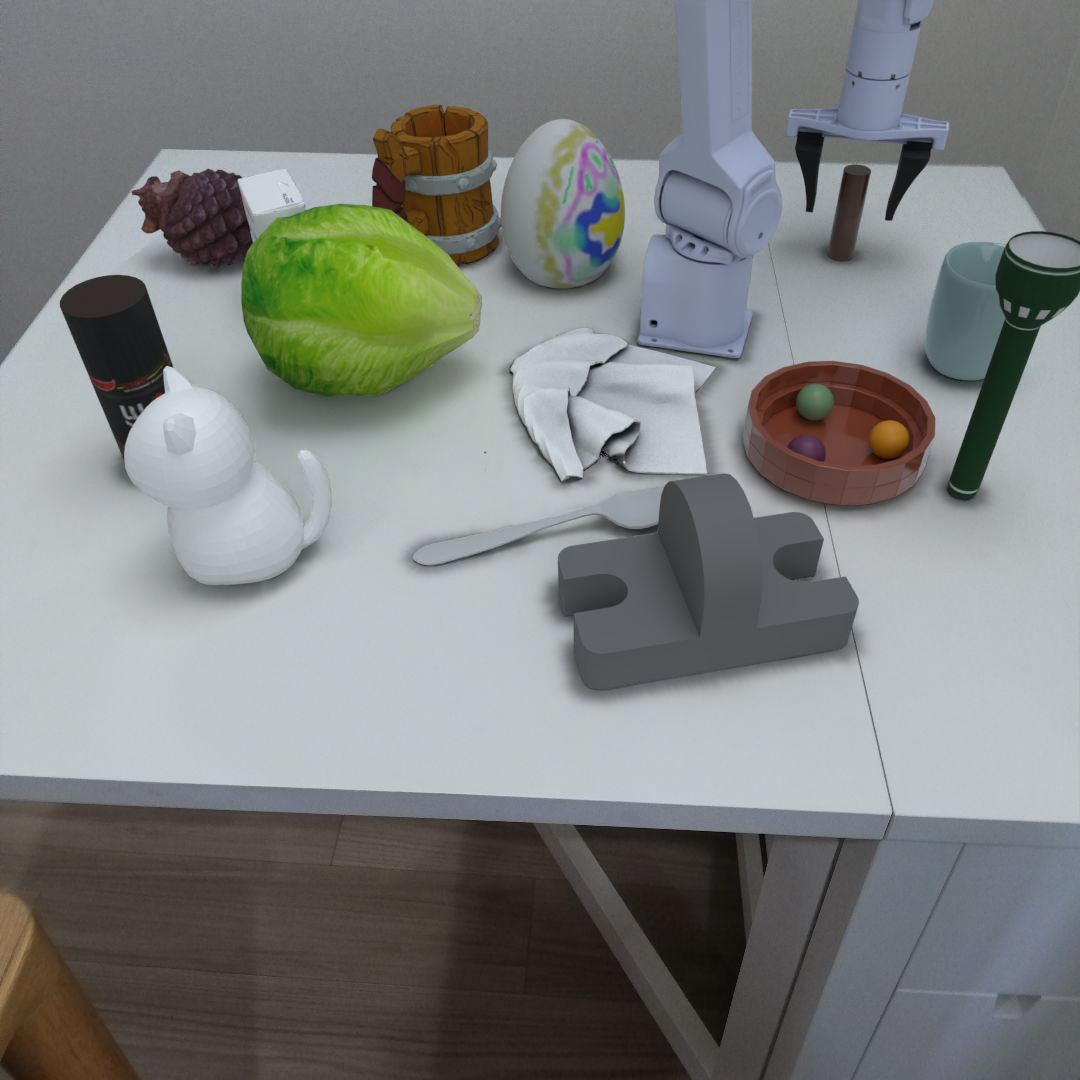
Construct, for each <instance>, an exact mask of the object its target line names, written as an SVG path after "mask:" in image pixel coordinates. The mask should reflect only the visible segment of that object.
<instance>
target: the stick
mask: <svg viewBox="0 0 1080 1080" xmlns="http://www.w3.org/2000/svg"><path fill="white" fill-rule="evenodd" d="M871 174H872V170H871V168H870V167H869V166H867V165H863V164H854V163H853V164H848V165H846V166H844V168H843V171H842V175H841V181H840V185H839V192H838V195H837V196H838V197H837V201H836V207H835V212H834V216H833V222H832V227H831V232H830V238H829V243H828V248H827V253H826V255H827V256H828V258H830V259H832V260H834V261H839V262H846V261H850V260H851V259H853V257H854V254H855V250H856V245H857V240H858V235H859V231H860V225H861V221H862V217H863V212H864V207H865V203H866V198H867V193H868V188H869V184H870V180H871Z"/></svg>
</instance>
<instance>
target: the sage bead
mask: <svg viewBox="0 0 1080 1080" xmlns="http://www.w3.org/2000/svg"><path fill="white" fill-rule="evenodd" d="M833 405H834V398H833V395H832V393H831V391H830V390H829V389H828V388H827V387H825V386H824V385H821V384H810V385H807V386H805V387H804V388H803V389H802V390H801V391H800V392H799V393H798V395H797V398H796V408H797V411H798V412H799V414H800V415H801V416H802V417H803V418H805V419H807V420H811V421H817V420H821V419H823V418H825V417H827V416H828V415H829V414H830V412H831V411H832V409H833Z"/></svg>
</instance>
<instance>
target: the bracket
mask: <svg viewBox="0 0 1080 1080" xmlns="http://www.w3.org/2000/svg"><path fill="white" fill-rule="evenodd" d="M663 487H664V489H663V491H662V494H661V501H660V509H659V521H658V524H657V532H653V533H646V534H639V535H633V536H625V537H620V538H613V539H607V540H601V541H593V542H587V543H580V544H575V545H568V546H566V547H564V548H563V549H561V550H560V552H559V553H558V556H557V578H558V579H557V581H558V582H557V583H558V599H559V602H560V606H561V610H562V614H563V617H567V616H573V653H574V656H575V660H576V663H577V667H578V670H579V671H578V672H579V674H580V677H581V678H580V679H581V681H582V683H584V685H586V686H587V687H588V688H590V689H593V690H596V691H604V690H610V689H617V688H621V687H627V686H632V685H639V684H644V683H651V682H657V681H662V680H667V679H668V680H669V679H675V678H679V677H686V676H691V675H697V674H704V673H709V672H715V671H721V670H727V669H732V668H739V667H744V666H751V665H756V664H762V663H768V662H774V661H779V660H785V659H791V658H796V657H802V656H809V655H815V654H821V653H827V652H831V651H838V650H840V649H841V650H842V649H843V648H844V647H845V646H847V644H848V642H849V638H850V635H851V632H852V628H853V625H854V621H855V619H856V616H857V612H858V608H859V605H860V599H859V596H858V595H857V593H856V591H855V589H854V588H853V585H851V582H850V581H849V579H848V578H847V576H845V575H844V576H840V577H834V578H828V579H821V580H815V581H806V582H803V581H795V580H799V579H803V578H810V577H815V576H816V573H817V569H818V565H819V561H820V557H821V554H822V549H823V544H824V541H825V538H824V536H823V535H822V532H821V531H820V529H819V528H818V526H817V525H816V523H815V521H814V519H813V518H812V517H811V516H810V515H808V514H805V513H803V512H799V511H790V512H789V511H788V512H783V513H776V514H771V515H764V516H756V517H754V514H753V510H752V507H751V505H750V502H749V499H748V498H747V495H746V493H745V490H744V489H743V487H742V486H741V484H740V483H739V482H738V480H737V478H736V477H734V476H732V475H731V474H730V473H724V472H723V473H717V474H710V475H703V476H697V477H689V478H682V479H676V480H669V481H668V482H666V484H664V485H663Z"/></svg>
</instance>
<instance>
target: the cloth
mask: <svg viewBox="0 0 1080 1080" xmlns="http://www.w3.org/2000/svg"><path fill="white" fill-rule="evenodd" d="M716 368H717V367H716V366H713V365H709V364H706V363H702V362H698V361H696V360H692V359H687V358H684V357H681V356H677V355H673V354H669V353H665V352H662V351H657V350H652V349H648V348H645V347H640V346H637V345H632V344H630V343H629V342H627V341H626V340H624V339H623V338H620V337H619V336H616V335H613V334H608V333H594V331H593V329H592V328H589V327H578V328H575V329H571V330H569V331H567V332H565V333H563V334H557V335H555V336H554V337H551V338H550V339H548V340H546V341H544V342H541V343H539V344H537V345H535V346H533V347H532V348H531V349H529V350H527V351H526V352H524V353H523V354H522V355H519V356H518V357H516V358H514V359H513V361H512V363H511V364H510V366H509V367H508V371H510V372H512V373H513V376H512V377H513V378H512V393H513V399H514V406H515V408H516V411H517V412H518V416H519V418H520V421H521V423H522V424H523V426H525V428H526V430H527V434H528V435H529V437H530V439H531V441H532V442H533V443H534V444H535V445H536V446H537V447H538V449H539V451H540V453H541V455H542V457H543V458H544V459H545V460H546V461H547V462H548V463H549V465H551V466H552V467H553V468H554V470H555V472H556V475H558V477H559V479H560V482H564V481H566V480H569V479H570V478H572V477H577V478H579V479H580V478H581V479H583V478H584V470H587V469H588V468H590V467H591V466H592V465H594V463H596V462H597V461H598V460H599V458H600V454H601V451H603V452H604V453H605V454H606V455H608V456H609V458H611V459H614V460H617V461H618V464H619V465H620V466H621V467H623V468H624V469H626V470H627V471H629V472H633V473H637V474H655V475H703V476H708V470H707V462H706V461H707V460H706V456H705V450H704V444H703V437H702V432H701V431H702V430H701V426H700V417H699V413H698V409H697V401H696V395H695V394H696V393H697V391H699V390H700V389H701V388H702V387H703V385H704V384H705V383H706V382H707V381H708V379H709V378H710V377H711V375H712V374H713V373H714V371H716Z"/></svg>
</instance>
